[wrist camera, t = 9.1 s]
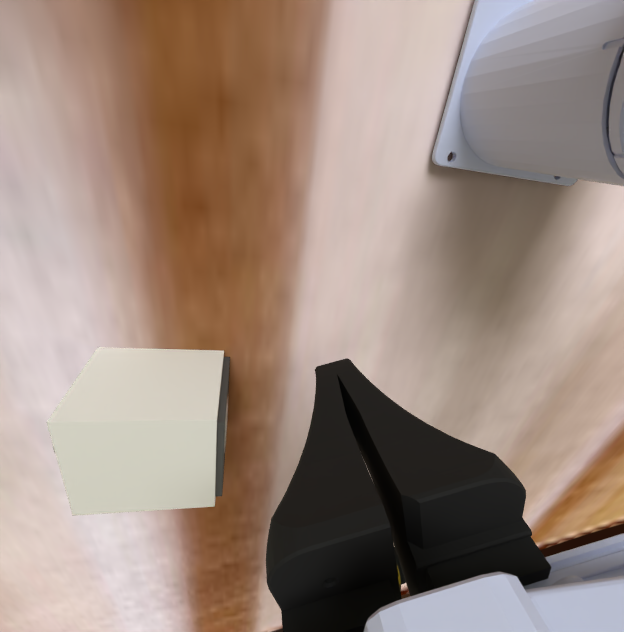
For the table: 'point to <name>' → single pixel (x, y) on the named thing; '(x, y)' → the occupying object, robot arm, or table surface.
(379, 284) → the table surface
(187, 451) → the white block
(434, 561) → the robot arm
